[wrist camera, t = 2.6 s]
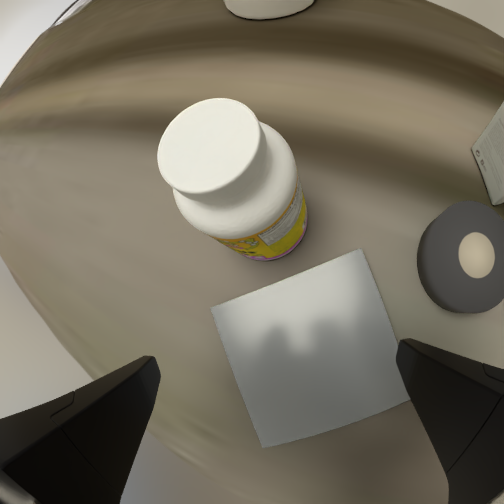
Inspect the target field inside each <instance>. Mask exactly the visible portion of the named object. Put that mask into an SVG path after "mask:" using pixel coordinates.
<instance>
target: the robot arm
mask: <svg viewBox="0 0 504 504" xmlns="http://www.w3.org/2000/svg"><path fill="white" fill-rule="evenodd" d="M396 364H397V367H398V369H399V372H400V375H401V378H402V380H403V383H404V386H405V388H406V391H407V393H408V395H409V397H410V399H411V401H412V403H413V405H414V407H415V409H416V411H417V413H418V415H419V417H420V419H421V421H422V423H423V425H424V427H425V430H426V432H427V434H428V436H429V438H430V440H431V442H432V445H433V447H434V449H435V451H436V453H437V456H438V458H439V460H440V462H441V465H442V467H443V469H444V471H445V473H446V476H447V479H448V484H449V502H448V504H504V369H501V368H497V367H494V366H491V365H488V364H485V363H483V364H482V363H481V362H478V361H475V360H472V359H469V358H466V357H463V356H460V355H457V354H454V353H451V352H448V351H445V350H442V349H440V348H437V347H434V346H431V345H428V344H425V343H422V342H420V341H417V340H414V339H411V338H407V339H402V340H401V341H400V342H399V346H398V350H397V354H396ZM160 378H161V374H160V370H159V367H158V364H157V361H156V359H155V357H154V356H143V357H141V358H139V359H137V360H135V361H133V362H131V363H129V364H127V365H125V366H123V367H121V368H119V369H117V370H115V371H113V372H111V373H109V374H107V375H105V376H103V377H101V378H99V379H97V380H95V381H93V382H91V383H89V384H87V385H85V386H83V387H81V388H79V389H77V390H75V392H74V391H72V392H70V393H68V394H66V395H63V396H61V397H59V398H56V399H54V400H52V401H49V402H47V403H44V404H42V405H39V406H36V407H33V408H31V409H28V410H25V411H22V412H20V413H16V414H14V415H11V416H8V417H5V418H2V419H0V504H120V500H121V495H122V493H123V490H124V488H125V485H126V482H127V479H128V476H129V473H130V471H131V468H132V465H133V462H134V459H135V456H136V454H137V451H138V448H139V446H140V443H141V440H142V437H143V435H144V432H145V429H146V427H147V424H148V421H149V419H150V416H151V413H152V411H153V408H154V404H155V400H156V396H157V391H158V387H159V383H160Z"/></svg>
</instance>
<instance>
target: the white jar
mask: <svg viewBox="0 0 504 504" xmlns="http://www.w3.org/2000/svg"><path fill="white" fill-rule="evenodd" d="M313 1H314V0H224V2H225V5H226V7H227V9H229V10H230V11H231V12H232V13H234V14H235V15H236V16H240V17H243V18H247V19H270V18H278V17H282V16H287V15H291V14H294V13H296V12H299V11H301V10H304V9H305V8H307V7H308V6H310V5H311V4H312V3H313Z"/></svg>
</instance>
